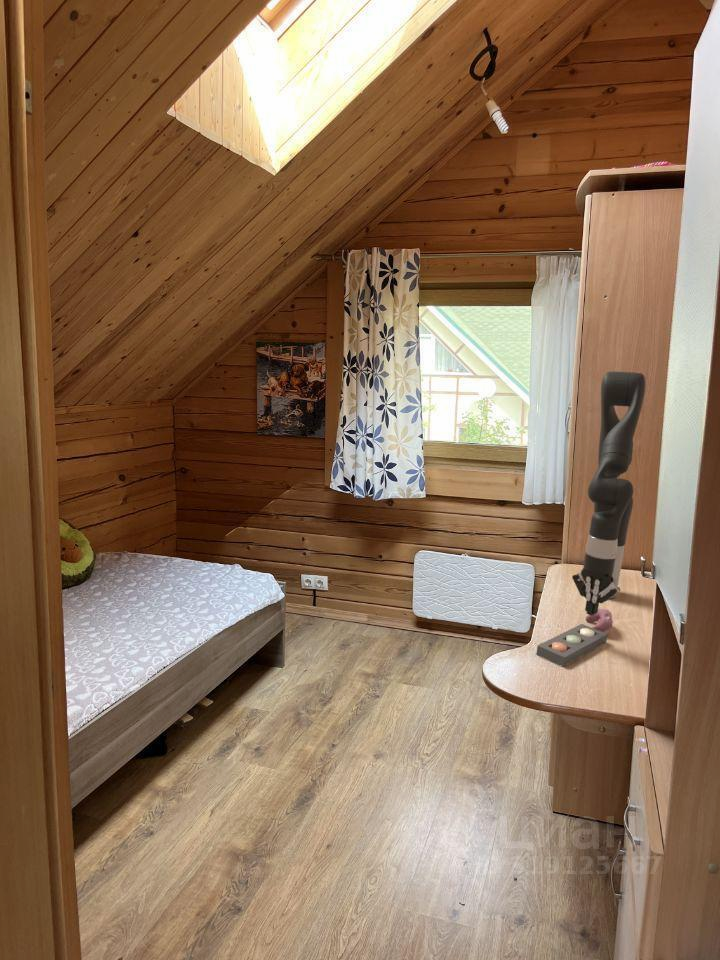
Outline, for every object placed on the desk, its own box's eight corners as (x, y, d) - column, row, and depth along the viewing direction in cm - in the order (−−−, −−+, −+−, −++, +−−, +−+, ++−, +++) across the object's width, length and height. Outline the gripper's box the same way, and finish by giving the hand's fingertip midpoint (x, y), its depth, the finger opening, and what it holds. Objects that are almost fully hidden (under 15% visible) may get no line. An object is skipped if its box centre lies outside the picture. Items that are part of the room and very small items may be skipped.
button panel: (580, 632, 188) (581, 623, 187) (606, 642, 183) (607, 634, 182) (536, 654, 173) (537, 645, 172) (563, 666, 168) (564, 657, 167)
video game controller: (602, 642, 186) (618, 623, 184) (588, 633, 186) (603, 613, 185) (597, 627, 196) (612, 608, 194) (583, 618, 196) (598, 599, 194)
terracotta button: (555, 649, 175) (557, 640, 175) (568, 654, 173) (569, 646, 172) (548, 653, 173) (549, 644, 172) (560, 658, 171) (562, 650, 170)
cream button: (583, 635, 185) (584, 627, 184) (595, 640, 182) (597, 632, 182) (576, 638, 183) (577, 630, 182) (588, 643, 180) (590, 635, 179)
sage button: (569, 642, 180) (571, 633, 180) (582, 647, 178) (583, 639, 177) (562, 645, 178) (564, 637, 177) (575, 651, 175) (576, 642, 175)
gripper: (570, 547, 179) (561, 609, 183) (618, 563, 170) (607, 627, 174) (584, 542, 184) (575, 602, 188) (631, 557, 175) (621, 619, 179)
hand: (590, 614), depth 181 cm, fingers closed
